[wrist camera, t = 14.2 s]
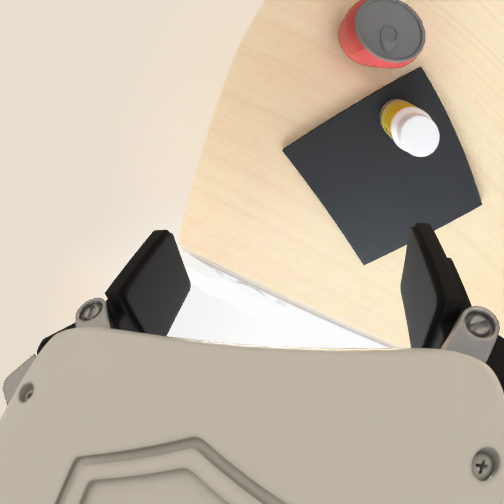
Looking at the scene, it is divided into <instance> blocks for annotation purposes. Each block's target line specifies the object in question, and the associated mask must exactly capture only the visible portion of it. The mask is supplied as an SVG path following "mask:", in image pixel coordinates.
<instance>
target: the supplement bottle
mask: <svg viewBox="0 0 504 504" xmlns="http://www.w3.org/2000/svg"><path fill="white" fill-rule="evenodd" d="M380 122H381V125H382V127H383V129H384V130H385V132H386V133H387V134H388V135H389V136H390V137H391V139H392V140H393V141H394V142H395V143H396V145H397V146H398V147H400V148H401V149H402V150H404V151H407V152H409V153H410V154H412V155H414V156H417V157H424V156H428V155H430V154H431V153H433V152H434V151H435V149H436V148H437V146H438V143H439V138H440V136H439V130H438V128H437V126H436V124H435V123H434V122H433V121H432V119H431V117H430V116H429V115H428V114H427V113H426V112H425V111H423V110H421V109H420V108H418V107H416V106H414V105H412V104H410V103H409V102H407V101H404V100H401V99H394V100H391V101H389V102H387V103H386V104H385V105H384V106H383V108H382V110H381V113H380Z"/></svg>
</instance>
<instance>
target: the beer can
mask: <svg viewBox="0 0 504 504" xmlns="http://www.w3.org/2000/svg"><path fill="white" fill-rule="evenodd" d="M339 42H340V45H341V47H342V49H343V51H344V52H345V53H346V55H347V56H348V57H350V58H351V59H352V60H353V61H355V62H357V63H359V64H362V65H365V66H372V67H382V68H398V67H403V66H405V65H407V64H409V63H411V62H412V61H413V60H414V59H415V58H416V57H417V56H418V55H419V54H420V52H421V51H422V49H423V46H424V43H425V30H424V27H423V24H422V21H421V19H420V18H419V17H418V15H417V14H416V12H415V11H414V10H413V9H411V8H410V7H409V6H408V5H407V4H405V3H403V2H401V1H399V0H360V1H358V2H356V3H355V4H354V6H353V7H352V8H351V9H350V10H349V11H348V13H347V15H346V17H345V18H344V20H343V22H342V24H341V26H340V29H339Z"/></svg>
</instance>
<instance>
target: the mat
mask: <svg viewBox="0 0 504 504" xmlns="http://www.w3.org/2000/svg"><path fill="white" fill-rule="evenodd" d="M394 99H401V100H404V101H407V102H409V103H410V104H412V105H414V106H416V107H418V108H420V109H421V110H423V111H425V112H426V113H427V114H428V115H429V116H430V117H431V119H432V121H433V122H434V123H435V124H436V126H437V128H438V130H439V136H440V138H439V143H438V146H437V148H436V149H435V151H434V152H433V153H431V154H430V155H428V156H424V157H417V156H414V155H412V154H410V153H409V152H407V151H404V150H402V149H401V148H400V147H398V146H397V145H396V143H395V142H394V141H393V140H392V139H391V137H390V136H389V135H388V134H387V133H386V132H385V130H384V129H383V127H382V125H381V122H380V113H381V110H382V108H383V106H384V105H385V104H386V103H387V102H389V101H391V100H394ZM283 152H284V153H285V155H286V156H287V157H288V158H289V160H290V161H291V162H292V164H293V165H294V166H295V168H296V169H297V170H298V171H299V173H300V174H301V175H302V177H303V178H304V179H305V181H306V182H307V184H308V185H309V186H310V188H311V189H312V190H313V192H314V193H315V194H316V196H317V197H318V199H319V200H320V201H321V203H322V204H323V206H324V207H325V208H326V210H327V211H328V213H329V214H330V215H331V217H332V218H333V220H334V221H335V223H336V224H337V226H338V227H339V228H340V230H341V231H342V233H343V234H344V236H345V237H346V239H347V240H348V242H349V243H350V245H351V246H352V248H353V249H354V251H355V252H356V254H357V255H358V257H359V258H360V260H361V262H362V263H363V265H365V264H368V263H370V262H372V261H374V260H376V259H378V258H380V257H382V256H384V255H386V254H388V253H390V252H393V251H395V250H397V249H399V248H401V247H403V246H405V245H407V243H408V236H409V229H410V227H414V225H415V223H430V224H431V226H432V228H433V230H436V229H438V228H440V227H442V226H444V225H446V224H448V223H449V222H451V221H453V220H455V219H457V218H459V217H461V216H462V215H464V214H466V213H468V212H470V211H472V210H473V209H475V208H477V207H479V206H480V205H482V203H481V199H480V196H479V193H478V190H477V187H476V184H475V181H474V178H473V175H472V172H471V170H470V167H469V164H468V161H467V159H466V156H465V154H464V151H463V149H462V146H461V144H460V142H459V139H458V137H457V135H456V132H455V130H454V128H453V126H452V124H451V121H450V119H449V117H448V115H447V113H446V111H445V109H444V107H443V105H442V103H441V101H440V99H439V97H438V95H437V94H436V92H435V90H434V88H433V86H432V84H431V83H430V81H429V79H428V77H427V76H426V74H425V72H424V71H423V69H422V68H421V67H419V68H417V69H416V70H414V71H412V72H410V73H408V74H406V75H404V76H403V77H401V78H399V79H397V80H395V81H394V82H392V83H390V84H388V85H386V86H385V87H383V88H381V89H379V90H378V91H376V92H374V93H373V94H371V95H369V96H367V97H366V98H364V99H362V100H361V101H359V102H357V103H356V104H354V105H352V106H351V107H349V108H347V109H346V110H344V111H342V112H341V113H339V114H337V115H336V116H334V117H333V118H331V119H329V120H328V121H326V122H325V123H323V124H321V125H320V126H318V127H317V128H315V129H314V130H312V131H310V132H309V133H307V134H306V135H304V136H303V137H301V138H300V139H298V140H297V141H295V142H294V143H292V144H291V145H289V146H288V147H286V148H285V149H283Z"/></svg>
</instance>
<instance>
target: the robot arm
mask: <svg viewBox="0 0 504 504" xmlns="http://www.w3.org/2000/svg"><path fill="white" fill-rule="evenodd" d="M190 286H191V285H190V280H189V278H188V275H187V272H186V270H185V267H184V264H183V261H182V259H181V256H180V253H179V250H178V247H177V244H176V242H175V239H174V236H173V234H172V233H170V232H169V231H168V230H155V231H153V232H152V234H151V235H150V236H149V237H148V239H147V240H146V241H145V242H144V243H143V245H142V246H141V247H140V248H139V249H138V251H137V252H136V253H135V254H134V256H133V257H132V258H131V260H130V261H129V262H128V263H127V265H126V266H125V267H124V269H123V270H122V271H121V272H120V274H119V275H118V276H117V278H116V279H115V280H114V281H113V283H112V284H111V285H110V287H109V288H108V290H107V291H106V292H105V294H106V296H107V298H108V299H107V301H106V302H105V300H103V299H102V298H94V299H91V300H89V301H87V302H85V303H84V304H83V305H82V306H81V307H80V308H79V309H78V311H77V313H76V323H74V324H72V325H70V326H68V327H66V328H64V329H62V330H60V331H58V332H56V333H54V334H52V335H51V336H49V337H46V338H45V339H43V340H42V342H41V344H40V345H39V348H38V351H37V356H36V355H35V354H34V355H33V356H31V357H30V358H29V359H28V360H27V361H25V362H24V363H23V364H22V365H21V366H19V367H18V368H17V369H16V370H15V371H14V372H12V373H11V374H10V375H9V376H8V377H7V378H6V380H5V382H4V385H3V392H4V395H5V399H6V402H7V408H6V410H5V412H4V414H3V416H2V418H1V420H0V504H504V338H502V337H501V336H499V335H498V334H499V329H500V327H499V322H498V320H497V318H496V316H495V315H494V314H493V313H492V312H491V311H489V310H488V309H486V308H483V307H480V306H471V303H470V301H469V298H468V296H467V293H466V291H465V288H464V286H463V284H462V281H461V279H460V277H459V274H458V272H457V270H456V268H455V265H454V263H453V261H452V260H451V258H447V257H446V255H445V253H444V251H443V248H442V246H441V244H440V242H439V240H438V238H437V236H436V234H435V232H434V230H433V228H432V226H431V224H430V223H415V225H414V227H410V229H409V236H408V243H407V250H406V257H405V263H404V269H403V274H402V280H401V295H402V299H403V304H404V309H405V314H406V320H407V325H408V331H409V337H410V343H411V348H371V349H366V348H301V347H278V346H261V345H247V344H234V343H223V342H212V341H202V340H193V339H184V338H176V337H168V336H166V335H167V334H168V332H169V330H170V328H171V325H172V324H173V322H174V320H175V318H176V316H177V314H178V312H179V310H180V308H181V306H182V304H183V302H184V300H185V298H186V297H187V294H188V292H189V291H190Z"/></svg>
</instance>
